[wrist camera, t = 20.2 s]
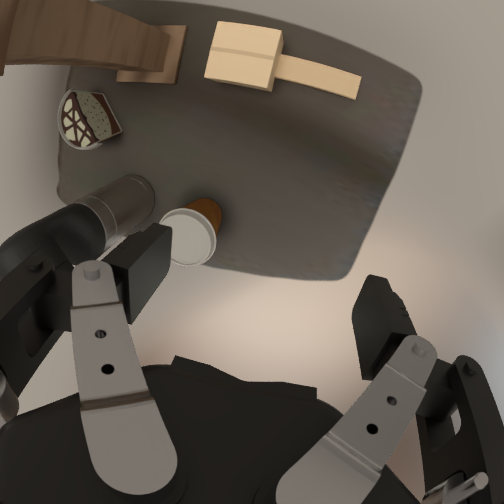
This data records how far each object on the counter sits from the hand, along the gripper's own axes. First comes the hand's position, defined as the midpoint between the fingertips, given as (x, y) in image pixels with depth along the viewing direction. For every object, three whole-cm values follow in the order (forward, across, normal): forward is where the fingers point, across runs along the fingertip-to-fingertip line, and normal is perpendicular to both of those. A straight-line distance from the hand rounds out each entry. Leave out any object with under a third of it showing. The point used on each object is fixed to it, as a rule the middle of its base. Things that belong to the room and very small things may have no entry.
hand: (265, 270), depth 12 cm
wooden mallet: (+40, +3, -13) cm, 42 cm away
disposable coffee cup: (+40, +12, +15) cm, 45 cm away
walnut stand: (+40, +27, -13) cm, 50 cm away
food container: (+40, +36, 0) cm, 54 cm away
